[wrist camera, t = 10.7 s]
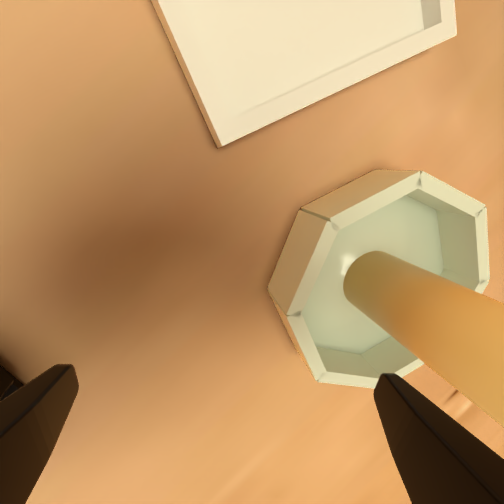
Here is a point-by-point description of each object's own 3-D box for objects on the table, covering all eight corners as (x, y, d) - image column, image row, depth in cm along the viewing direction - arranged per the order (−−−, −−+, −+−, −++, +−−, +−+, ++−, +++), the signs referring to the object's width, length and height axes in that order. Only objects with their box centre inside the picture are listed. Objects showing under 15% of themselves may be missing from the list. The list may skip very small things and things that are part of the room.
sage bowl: (310, 381, 25) (333, 418, 21) (242, 237, 19) (257, 255, 15) (448, 300, 26) (491, 323, 23) (427, 142, 20) (483, 137, 16)
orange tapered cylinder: (334, 302, 21) (498, 450, 10) (357, 245, 20) (570, 343, 9) (381, 309, 23) (568, 444, 12) (405, 256, 22) (636, 352, 11)
